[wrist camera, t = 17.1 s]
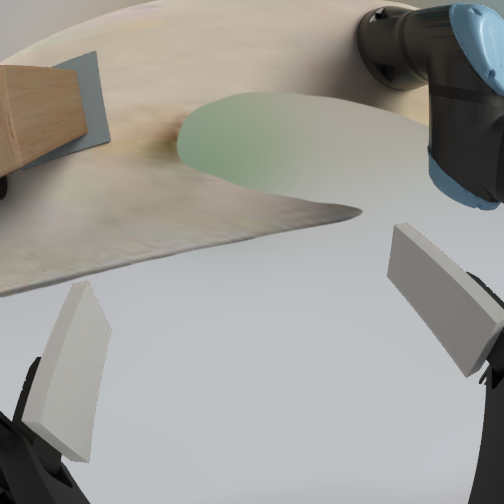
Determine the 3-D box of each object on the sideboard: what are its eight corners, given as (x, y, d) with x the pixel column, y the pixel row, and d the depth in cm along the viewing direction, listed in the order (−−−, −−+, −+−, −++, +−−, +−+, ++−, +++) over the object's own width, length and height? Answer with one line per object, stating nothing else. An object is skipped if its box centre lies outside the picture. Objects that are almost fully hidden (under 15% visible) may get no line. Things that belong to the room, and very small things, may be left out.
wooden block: (35, 153, 35) (-43, 201, 18) (22, 94, 30) (-65, 111, 13) (89, 132, 36) (22, 167, 19) (77, 69, 31) (1, 62, 14)
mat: (96, 51, 31) (94, 50, 30) (110, 140, 38) (109, 141, 38) (8, 88, 29) (6, 89, 29) (24, 169, 37) (22, 170, 36)
